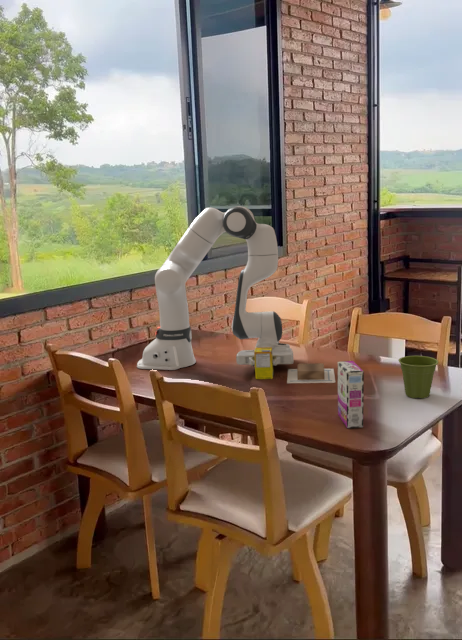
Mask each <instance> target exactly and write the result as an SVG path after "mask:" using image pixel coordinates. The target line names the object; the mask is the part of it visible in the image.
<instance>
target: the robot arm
mask: <svg viewBox="0 0 462 640" xmlns="http://www.w3.org/2000/svg"><path fill="white" fill-rule="evenodd" d="M224 233H226V234H228V235H229V236H231V237H234V238H239V239H242V240H245V241H246V245H247V262H246V265H245V267H244V268H243V269H242V270H241V271H240V273H239V276H238V281H237V290H236V297H235V306H234V313H233V317H232V322H231V331H232V335H233V336H235V337H236V338H237V339H239V340H249V339H257V341H256V344H255V347H254V349H247V350H246V349H242V350H240V351H238V352H237V354H236V358H235V361H236V364H237V365H239V366H240V365H241V366H243V365H244V366H245V365H247V366H251V367H255V357H254V351H255V348H259V347H272V356H273V360H272V366H273V367H274V366H275V367H276V366H278V365H292V364H294V351H293V349H292V348H291V346H290V344H289V343H282V342H280V340H281V339H282V336H283V324H282V318H281V317H280V315H279V314H278V313H277V312H275V311H273V310H272V311H270V310H269V311H257V312H256V311H255V312H254V311H253V312H249V311H247V310H246V309H247V300H248V299H247V298H248V292H249V289H250V288H251V287H252V286H254V285H256V284H258V283H259V282H261V281H264V280H266V279H268V278H269V277H271V276H272V275H274V274H275V273H276V271H277V270H278V265H279V251H278V250H279V248H278V241H277V236H276V232H275V229H274V227H272V226H271V225H269V224H265V223H257V222H256V218H255V215H254V213H253V212H252V211H251V210H250V209H249V208H248V207H246V206H243V205H236V206H233V207H230V208H229V209H227V210H226V211H225V212H222V211H220V210H219V209H217V208H215V207H211V206H210V207H205V208H204V209H203V210H202V211H201V212H200V213H199V214H198V215H197V216H196V217H195V218H194V220H193V221H192V222H191V224H190V225H189V227H188V228H186V231H185V232H184V233H183V235H182V236H181V238H180V239H179V241H178V242H177V243H176V245H175V246H174V247H173V250H171V252H170V254H169V255H168V256H167V258H166V259H165V261H164V262H163V264H162V265H161V267H159V268H158V269H157V271H156V273H155V274H154V284H155V285H154V286H155V292H156V293H155V294H156V300H157V304H158V311H159V314H158V315H159V325H160V326H157V328H156V330H155V334H154V335H155V337H156V338H155V339H153V340H152V341H151V342H150V343H148V344H147V346H145V348H144V349H143V351H142V358H141V359H139V360H138V361H137V364H136V367H137V369H140V370H141V369H143V370H165V371H168V370H169V371H175V370H178V369H180V368H181V369H182V368H186V367H189V366H193V365H194V364H195V363H197V360H196V358H195V357H196V356H195V355H194V350H193V346H192V336H193V335H192V328H191V326H190V315H189V314H190V313H189V305H188V297H187V291H186V290H187V289H186V283H187V281H188V280H189V278H190V277H191V275H192V274H193V273H194V272H195V270H196V269H197V268H198V266H199V265H200V264H201V262H202V261H203V260H204V258H205V257H206V255H207V254H208V253H209V252H210V250H211V249H212V248H213V246H214V244H215V243H216V241H217V240H218V238H219V237H220V236H221V235H222V234H224Z"/></svg>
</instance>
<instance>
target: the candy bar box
mask: <svg viewBox="0 0 462 640" xmlns="http://www.w3.org/2000/svg"><path fill="white" fill-rule="evenodd" d="M364 374H365V371H364V370H363V369H362V368H361V367H360V366H359V365H358V364H357V363H356V362H355V361H354V360H344V361H337V415H338V417H339V418H340V420H341V421H342V423H343V424H344V426H345V427H346V428H347V429H361V428H364V426H365V425H364V407H365V406H364V401H365V400H364V397H365V395H364V391H365V390H364V389H365V387H364V386H365V385H364V384H365V383H364V382H365V380H364V379H365V378H364Z"/></svg>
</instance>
